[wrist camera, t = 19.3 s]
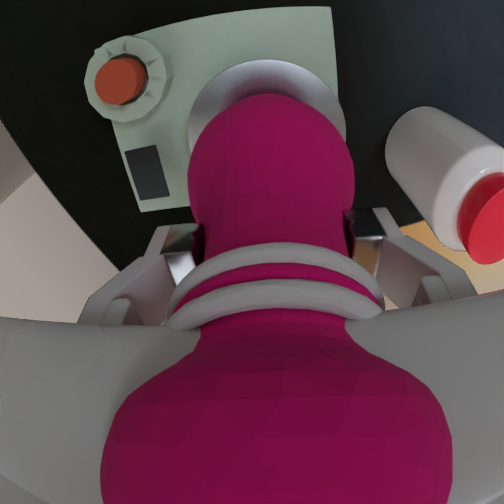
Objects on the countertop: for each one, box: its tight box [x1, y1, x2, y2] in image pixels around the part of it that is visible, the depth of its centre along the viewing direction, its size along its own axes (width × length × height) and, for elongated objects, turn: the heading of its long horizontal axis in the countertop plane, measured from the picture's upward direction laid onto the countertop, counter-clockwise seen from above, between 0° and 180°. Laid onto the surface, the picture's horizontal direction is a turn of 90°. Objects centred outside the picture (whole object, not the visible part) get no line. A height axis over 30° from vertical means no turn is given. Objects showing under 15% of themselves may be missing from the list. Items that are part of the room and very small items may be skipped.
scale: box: [84, 7, 338, 212], centre depth 18 cm, size 16×14×3 cm
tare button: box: [95, 58, 146, 105], centre depth 15 cm, size 3×3×2 cm
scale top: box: [124, 59, 346, 201], centre depth 18 cm, size 15×10×1 cm
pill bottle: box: [385, 107, 504, 264], centre depth 16 cm, size 8×8×11 cm
